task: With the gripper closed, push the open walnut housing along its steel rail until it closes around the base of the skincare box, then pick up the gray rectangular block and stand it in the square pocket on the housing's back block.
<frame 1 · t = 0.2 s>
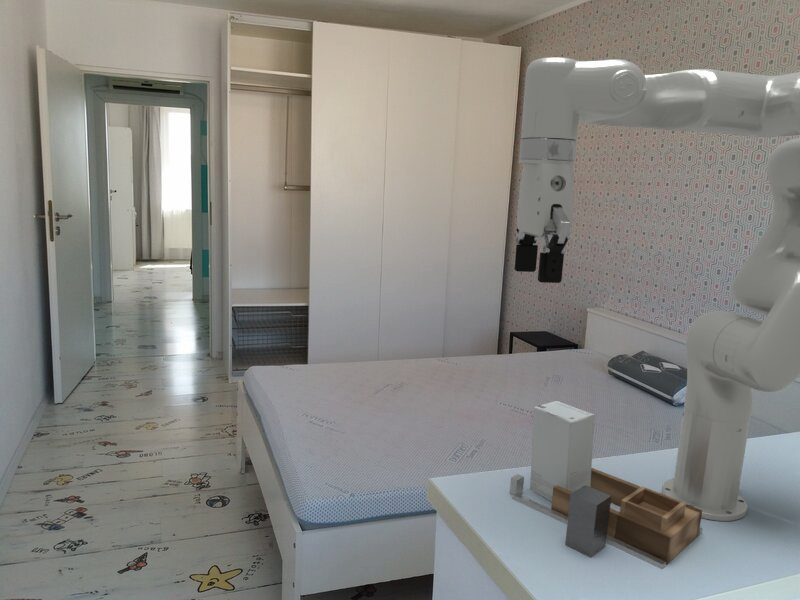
hand: (536, 276, 91), 37 cm above the table, tool pointing down, fingers open, 9 cm apart
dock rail: (619, 522, 96), on the table
gray rectangular block: (585, 547, 90), on the table
cradle: (625, 504, 95), point 3 cm above the table, slide at 0.0 cm
skincare box: (557, 496, 104), on the table
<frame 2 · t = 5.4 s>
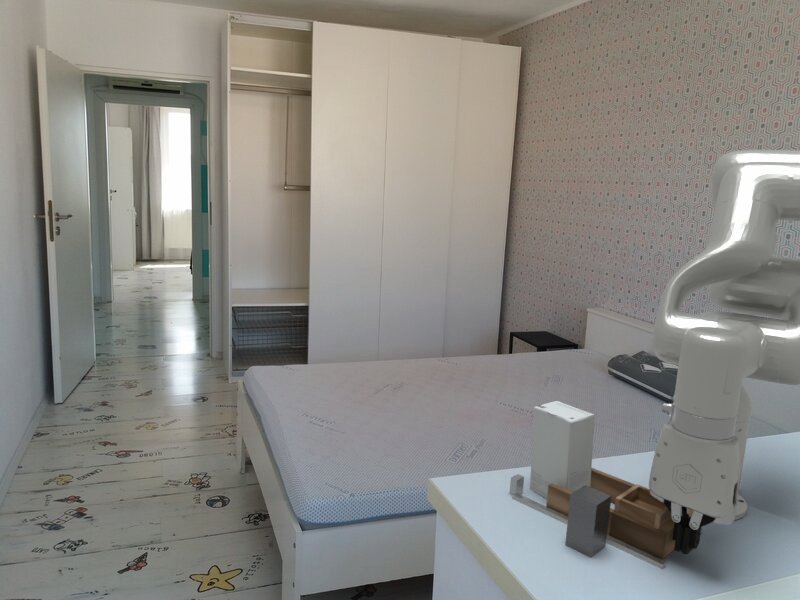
hand: (684, 548, 87), 2 cm above the table, tool pointing down, fingers closed
cradle: (619, 502, 96), point 3 cm above the table, slide at 0.9 cm, touching gripper
everything else where it was.
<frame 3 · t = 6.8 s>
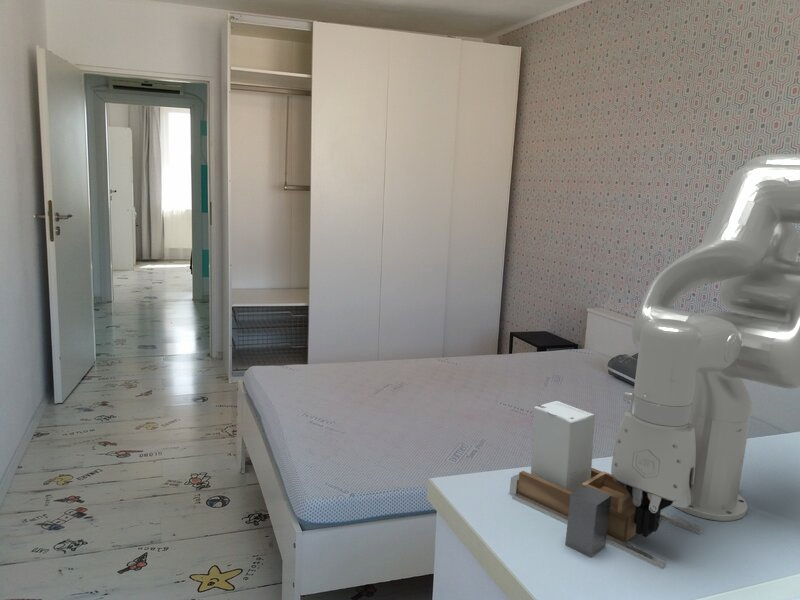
hand: (645, 531, 90), 2 cm above the table, tool pointing down, fingers closed
cradle: (587, 488, 100), point 3 cm above the table, slide at 6.3 cm, touching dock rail, gripper
everything else where it was.
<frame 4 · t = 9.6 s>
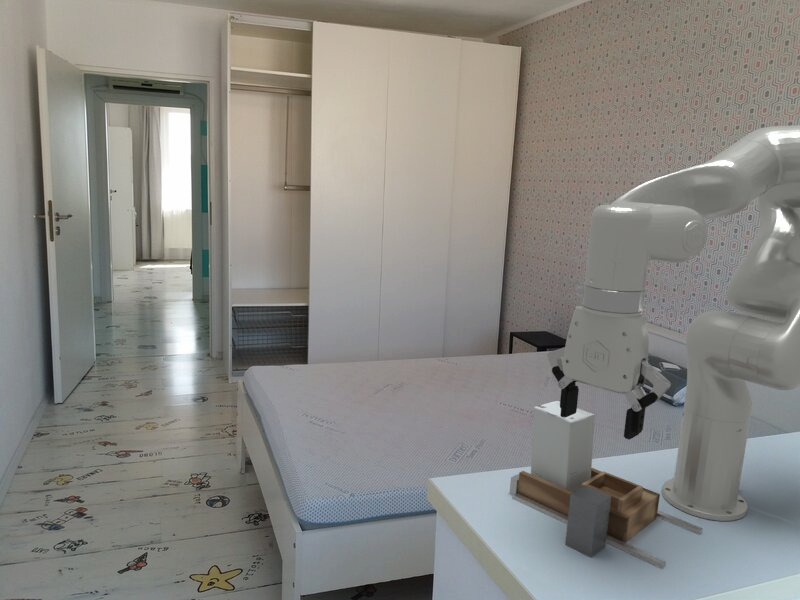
hand: (598, 425, 86), 18 cm above the table, tool pointing down, fingers open, 9 cm apart
cradle: (587, 488, 100), point 3 cm above the table, slide at 6.3 cm, touching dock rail
everything else where it was.
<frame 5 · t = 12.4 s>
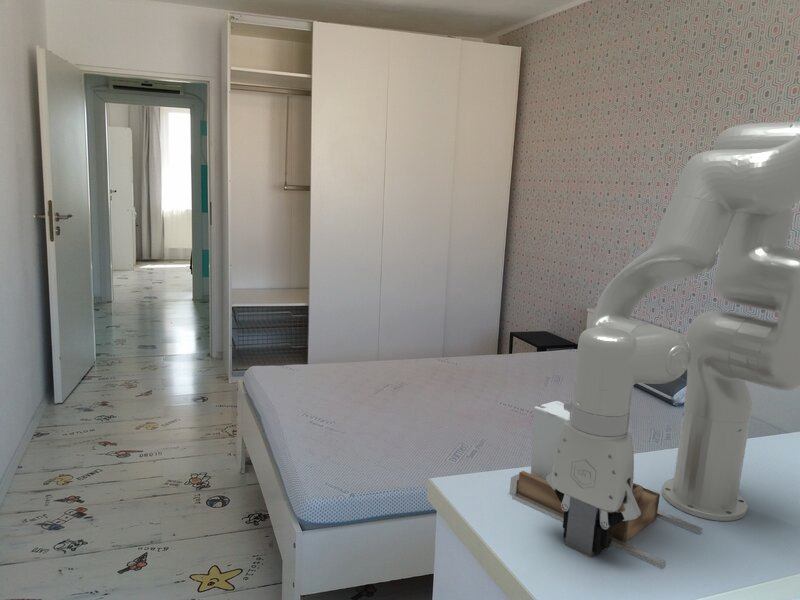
hand: (585, 541, 89), 1 cm above the table, tool pointing down, fingers closed on gray rectangular block, 4 cm apart
gray rectangular block: (585, 547, 90), on the table, touching gripper
everything else where it was.
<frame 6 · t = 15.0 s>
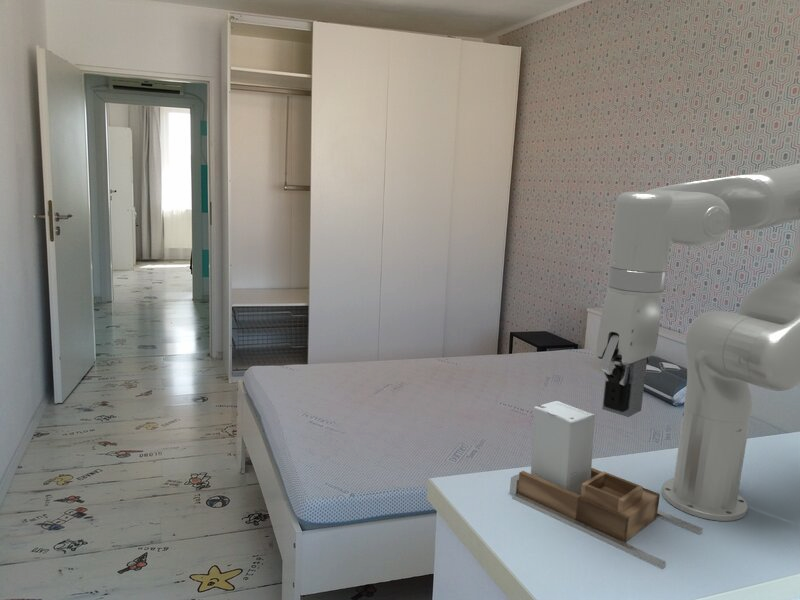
hand: (622, 404, 92), 19 cm above the table, tool pointing down, fingers closed on gray rectangular block, 4 cm apart
gray rectangular block: (621, 409, 93), point 18 cm above the table, touching gripper
everything else where it was.
when the fingers open (7 cm above the table, at t = 17.5 s): gray rectangular block drops 2 cm, resting on cradle.
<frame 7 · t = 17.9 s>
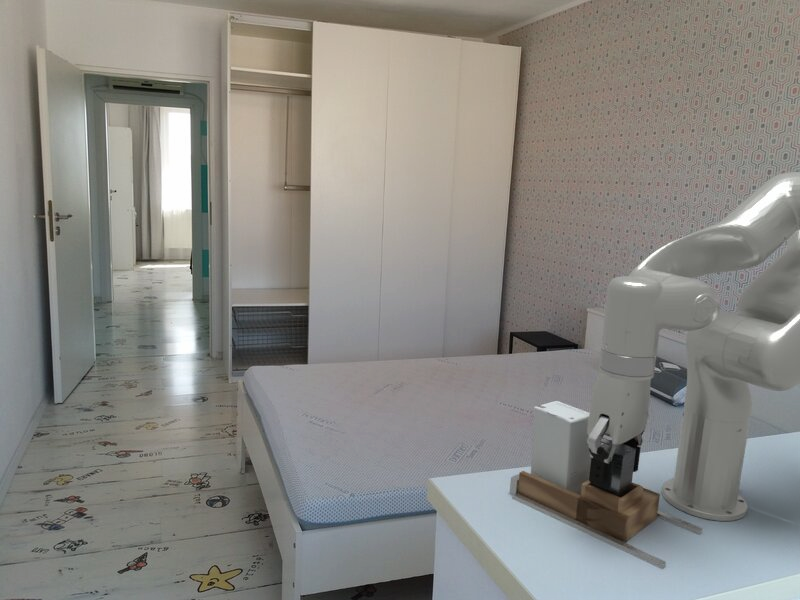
hand: (613, 475, 95), 8 cm above the table, tool pointing down, fingers open, 7 cm apart
gray rectangular block: (610, 497, 95), point 4 cm above the table, touching cradle
cradle: (587, 488, 100), point 3 cm above the table, slide at 6.3 cm, touching gray rectangular block
everything else where it was.
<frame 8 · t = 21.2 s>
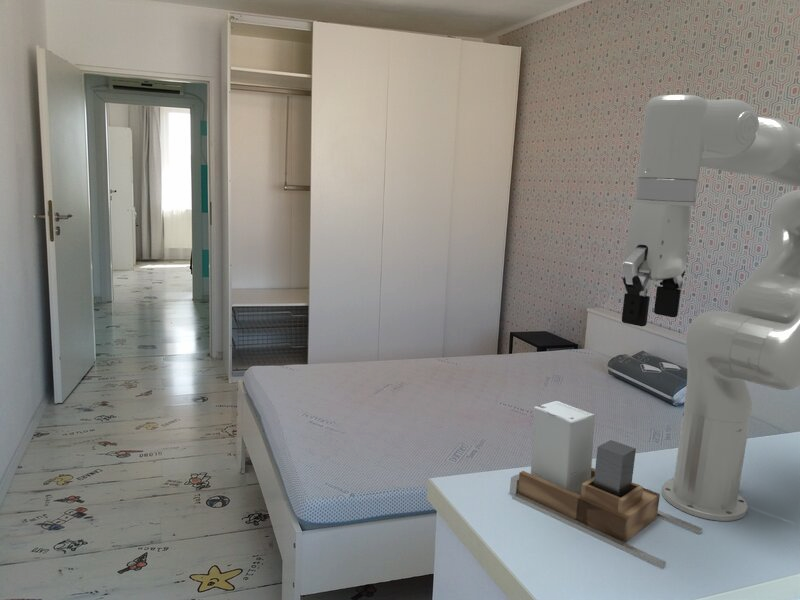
hand: (650, 319, 87), 32 cm above the table, tool pointing down, fingers open, 9 cm apart
nothing on the table moved.
at the end: cradle slide at 6.3 cm; gray rectangular block 0.1 cm from the target spot, point 4.2 cm above the table; gray rectangular block tilted 0° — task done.
